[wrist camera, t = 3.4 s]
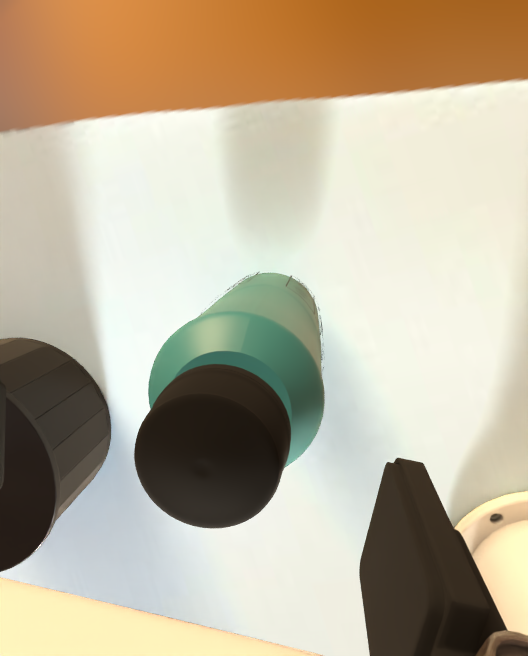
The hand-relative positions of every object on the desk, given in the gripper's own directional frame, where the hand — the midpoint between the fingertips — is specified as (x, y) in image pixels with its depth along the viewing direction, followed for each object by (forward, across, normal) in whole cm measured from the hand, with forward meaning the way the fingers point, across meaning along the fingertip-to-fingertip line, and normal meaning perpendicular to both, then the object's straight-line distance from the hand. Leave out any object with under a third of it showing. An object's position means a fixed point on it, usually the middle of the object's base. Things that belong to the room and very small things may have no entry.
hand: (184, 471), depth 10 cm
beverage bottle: (+21, 0, 0) cm, 21 cm away
